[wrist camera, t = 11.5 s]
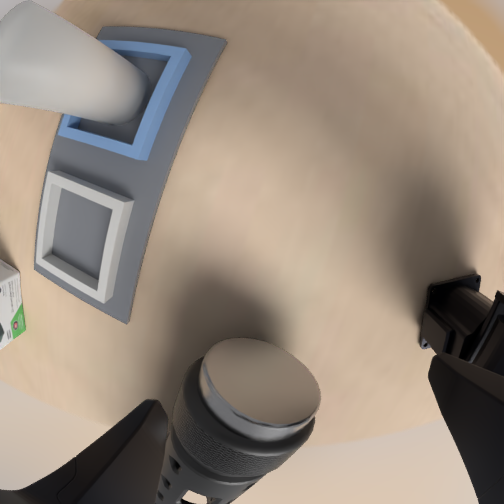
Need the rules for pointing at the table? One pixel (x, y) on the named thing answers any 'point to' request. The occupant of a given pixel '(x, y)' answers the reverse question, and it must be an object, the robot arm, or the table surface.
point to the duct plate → (119, 171)
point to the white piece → (66, 69)
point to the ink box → (10, 304)
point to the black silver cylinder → (236, 420)
